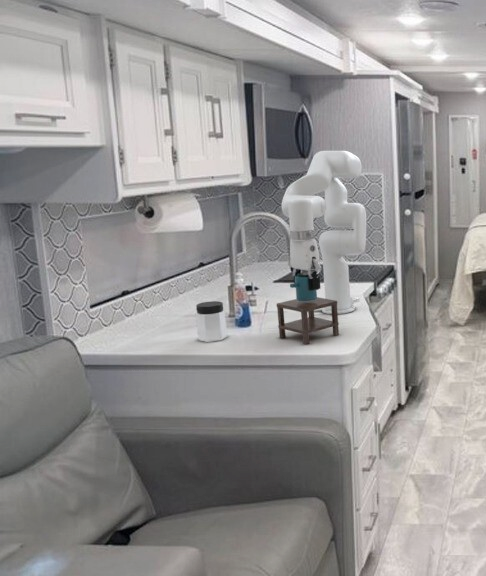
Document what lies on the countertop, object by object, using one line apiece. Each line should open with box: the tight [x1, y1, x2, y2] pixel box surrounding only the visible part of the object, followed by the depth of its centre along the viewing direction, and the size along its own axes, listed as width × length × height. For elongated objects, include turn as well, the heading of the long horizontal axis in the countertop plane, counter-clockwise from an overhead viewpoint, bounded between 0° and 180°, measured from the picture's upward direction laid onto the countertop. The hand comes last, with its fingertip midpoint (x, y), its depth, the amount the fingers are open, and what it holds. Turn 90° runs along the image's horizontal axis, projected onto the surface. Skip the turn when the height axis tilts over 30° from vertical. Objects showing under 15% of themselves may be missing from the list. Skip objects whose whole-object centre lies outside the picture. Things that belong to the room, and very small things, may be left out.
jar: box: [195, 300, 228, 343], centre depth 224 cm, size 9×8×12 cm
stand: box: [276, 296, 340, 345], centre depth 226 cm, size 14×14×12 cm
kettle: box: [289, 271, 321, 301], centre depth 223 cm, size 11×7×9 cm, turn 145°
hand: (306, 288), depth 224 cm, fingers closed on kettle, 6 cm apart
